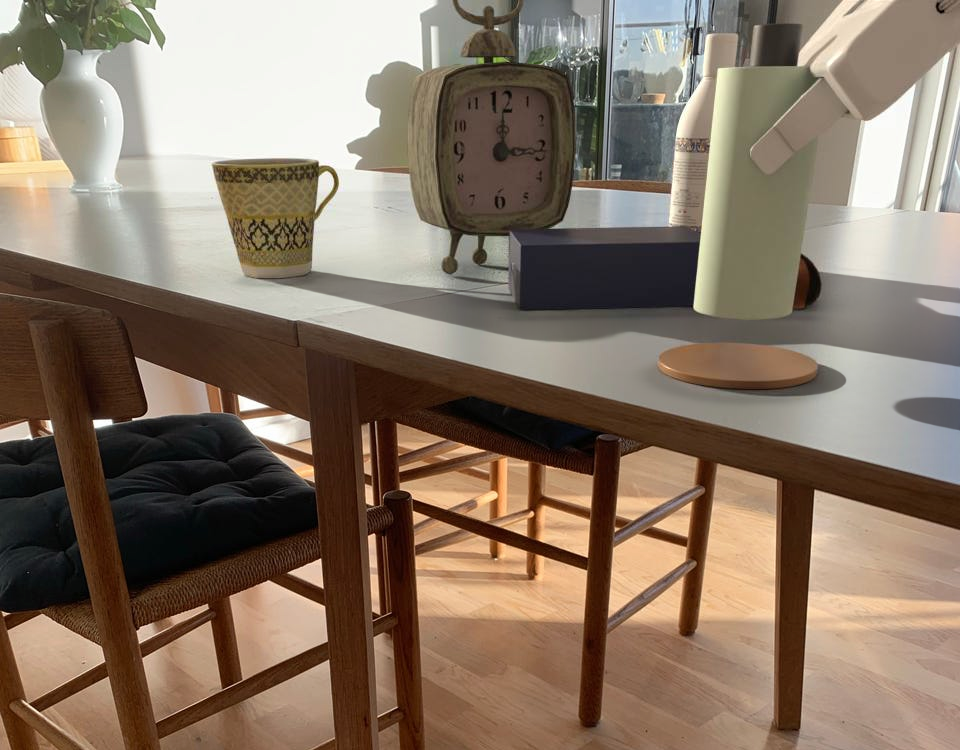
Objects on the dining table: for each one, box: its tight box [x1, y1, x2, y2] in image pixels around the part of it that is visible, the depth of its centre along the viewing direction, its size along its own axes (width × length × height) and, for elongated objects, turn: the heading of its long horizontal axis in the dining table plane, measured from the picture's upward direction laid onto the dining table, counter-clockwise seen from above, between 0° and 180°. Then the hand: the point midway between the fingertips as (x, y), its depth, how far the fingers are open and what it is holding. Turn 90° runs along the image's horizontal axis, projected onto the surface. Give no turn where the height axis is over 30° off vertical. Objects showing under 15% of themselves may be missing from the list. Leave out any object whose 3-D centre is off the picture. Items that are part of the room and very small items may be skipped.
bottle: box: [692, 23, 820, 321], centre depth 55 cm, size 6×6×15 cm
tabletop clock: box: [406, 0, 577, 275], centre depth 90 cm, size 14×9×25 cm, turn 114°
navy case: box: [507, 226, 701, 311], centre depth 81 cm, size 16×10×5 cm, turn 94°
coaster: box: [657, 342, 819, 390], centre depth 61 cm, size 10×10×1 cm
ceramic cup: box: [211, 157, 340, 279], centre depth 93 cm, size 13×10×10 cm
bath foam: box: [667, 32, 739, 233], centre depth 93 cm, size 7×7×20 cm
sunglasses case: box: [792, 252, 823, 310], centre depth 84 cm, size 18×7×7 cm
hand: (751, 160), depth 55 cm, fingers closed on bottle, 6 cm apart
